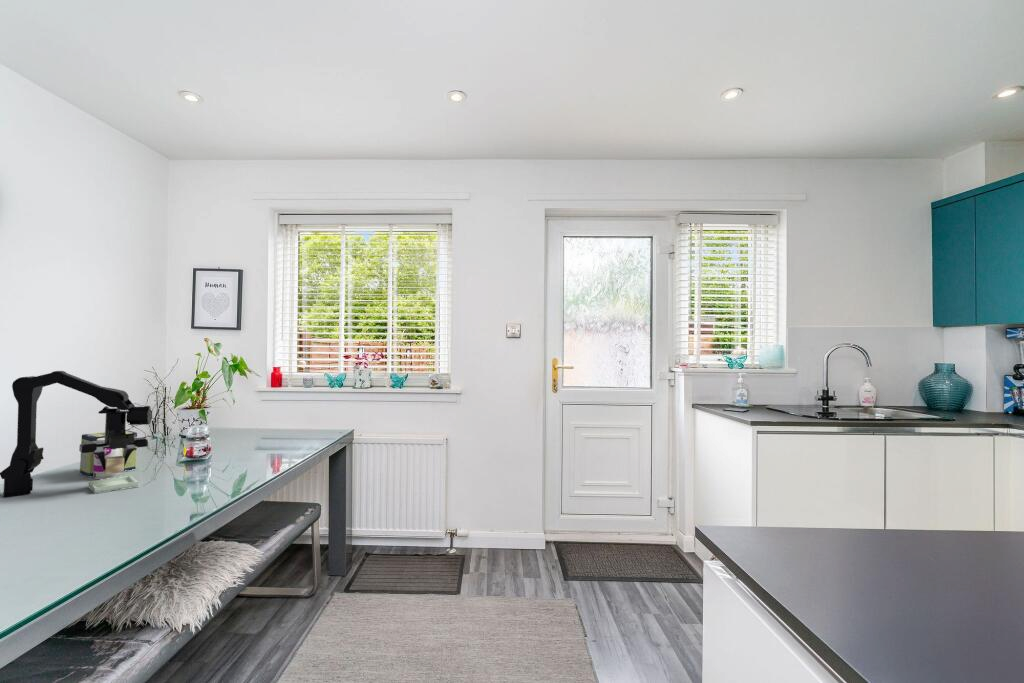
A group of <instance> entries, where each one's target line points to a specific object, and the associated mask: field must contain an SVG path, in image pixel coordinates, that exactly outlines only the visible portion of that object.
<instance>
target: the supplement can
mask: <svg viewBox="0 0 1024 683" xmlns="http://www.w3.org/2000/svg"><path fill="white" fill-rule="evenodd" d="M95 443H96V444H101V443H105V438H99V439H97V441H96V442H95ZM103 451H104V452H105V455H104V457H105V458H106V457H115V456H122V448H117V449H110V448H103ZM121 475H122V472H119V473H112V474H105V473H104V472H103V468H102V465H101V463H100V460H99V458H98V457H97V455H96V454H94V471H93V477H92V478H93V479H95V480H97V479H107V478H114V477H117V476H119V477H120V476H121Z"/></svg>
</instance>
